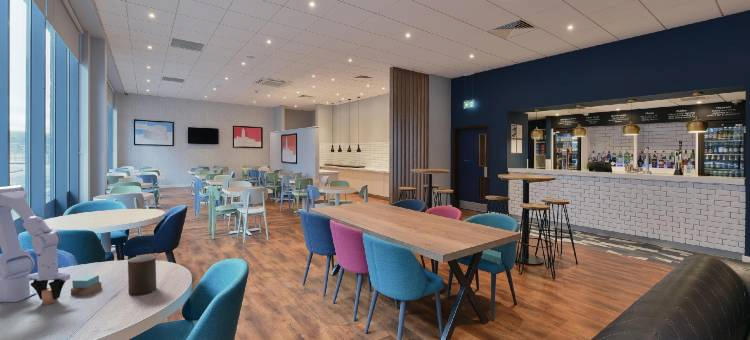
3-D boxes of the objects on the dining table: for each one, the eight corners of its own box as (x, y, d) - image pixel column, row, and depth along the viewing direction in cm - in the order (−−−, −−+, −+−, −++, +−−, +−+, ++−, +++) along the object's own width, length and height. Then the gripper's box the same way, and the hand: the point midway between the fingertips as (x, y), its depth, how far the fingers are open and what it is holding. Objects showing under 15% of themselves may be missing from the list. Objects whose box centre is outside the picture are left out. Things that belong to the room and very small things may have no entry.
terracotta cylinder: (39, 304, 135) (38, 291, 135) (49, 299, 139) (48, 287, 139) (50, 304, 135) (50, 291, 135) (60, 299, 139) (60, 287, 139)
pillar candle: (143, 296, 142) (142, 259, 141) (122, 294, 144) (121, 258, 143) (162, 287, 152) (161, 252, 151) (142, 285, 153) (141, 251, 153)
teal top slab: (72, 287, 144) (72, 280, 144) (85, 282, 150) (84, 275, 150) (87, 288, 144) (86, 280, 144) (99, 282, 150) (98, 275, 150)
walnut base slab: (71, 296, 144) (70, 288, 143) (84, 289, 151) (84, 282, 150) (89, 295, 144) (88, 288, 144) (101, 288, 151) (101, 281, 151)
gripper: (17, 267, 132) (20, 303, 133) (58, 267, 132) (60, 302, 133) (35, 261, 139) (37, 295, 140) (73, 261, 139) (75, 294, 140)
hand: (49, 298), depth 137 cm, fingers closed on terracotta cylinder, 4 cm apart
